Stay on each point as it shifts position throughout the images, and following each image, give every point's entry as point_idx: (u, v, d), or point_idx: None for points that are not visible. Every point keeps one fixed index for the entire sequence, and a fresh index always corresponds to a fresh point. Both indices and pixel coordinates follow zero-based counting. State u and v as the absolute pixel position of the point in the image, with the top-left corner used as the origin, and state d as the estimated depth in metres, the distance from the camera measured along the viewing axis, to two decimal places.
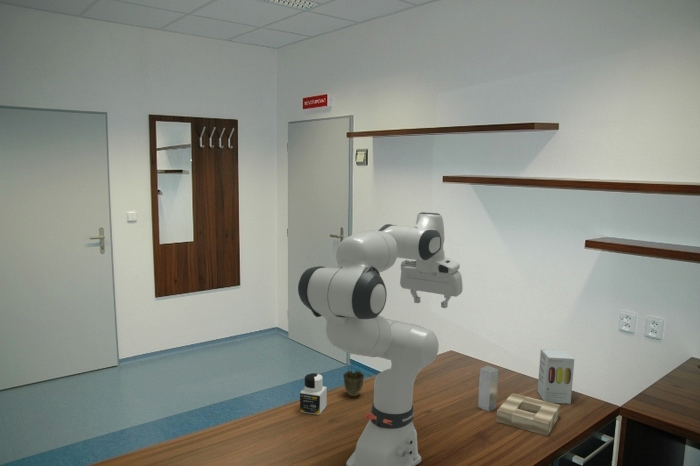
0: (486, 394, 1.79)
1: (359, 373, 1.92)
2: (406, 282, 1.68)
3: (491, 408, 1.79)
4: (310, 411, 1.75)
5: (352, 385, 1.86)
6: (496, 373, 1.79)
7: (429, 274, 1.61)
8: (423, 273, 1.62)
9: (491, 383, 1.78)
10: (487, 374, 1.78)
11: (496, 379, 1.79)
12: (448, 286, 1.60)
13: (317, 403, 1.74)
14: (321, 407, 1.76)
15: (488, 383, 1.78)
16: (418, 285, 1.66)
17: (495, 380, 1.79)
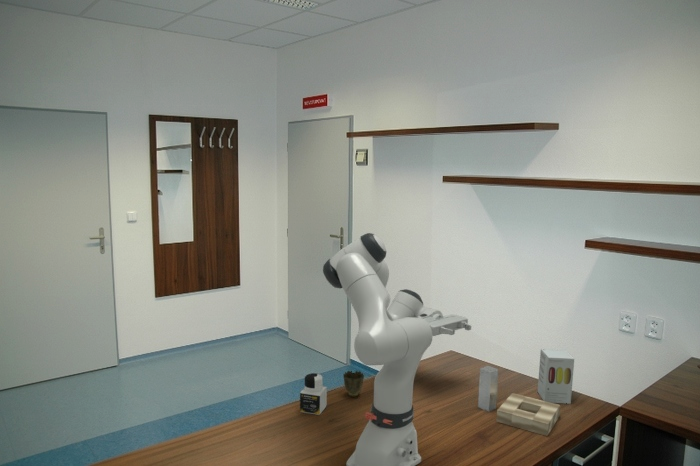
0: (486, 394, 1.79)
1: (359, 373, 1.92)
2: None
3: (491, 408, 1.79)
4: (310, 411, 1.75)
5: (352, 385, 1.86)
6: (496, 373, 1.79)
7: None
8: None
9: (491, 383, 1.78)
10: (487, 374, 1.78)
11: (496, 379, 1.79)
12: None
13: (317, 403, 1.74)
14: (321, 407, 1.76)
15: (488, 383, 1.78)
16: None
17: (495, 380, 1.79)
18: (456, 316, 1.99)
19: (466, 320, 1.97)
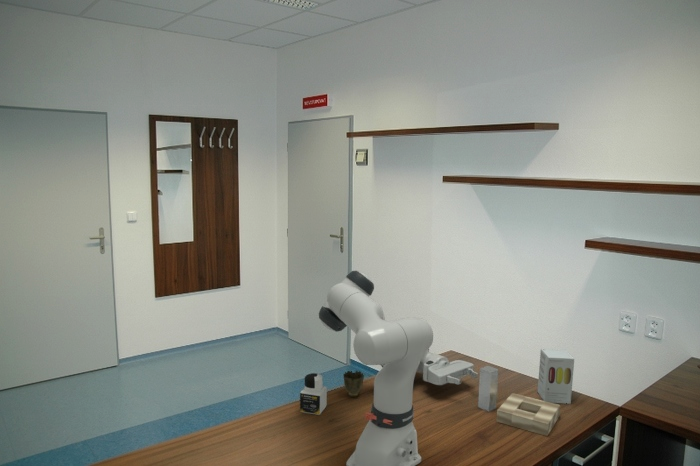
0: (486, 394, 1.79)
1: (359, 373, 1.92)
2: None
3: (491, 408, 1.79)
4: (310, 411, 1.75)
5: (352, 385, 1.86)
6: (496, 373, 1.79)
7: None
8: None
9: (491, 383, 1.78)
10: (487, 374, 1.78)
11: (496, 379, 1.79)
12: None
13: (317, 403, 1.74)
14: (321, 407, 1.76)
15: (488, 383, 1.78)
16: None
17: (495, 380, 1.79)
18: (462, 362, 1.99)
19: (472, 366, 1.96)
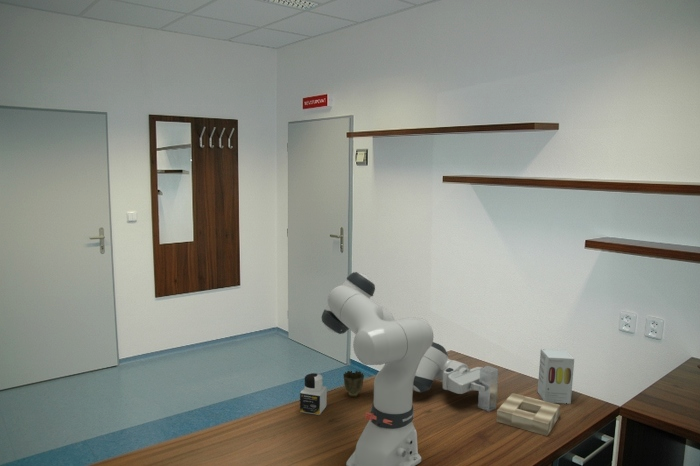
0: (486, 394, 1.79)
1: (359, 373, 1.92)
2: None
3: (491, 408, 1.79)
4: (310, 411, 1.75)
5: (352, 385, 1.86)
6: (496, 373, 1.79)
7: None
8: None
9: (491, 383, 1.78)
10: (487, 374, 1.78)
11: (496, 379, 1.79)
12: None
13: (317, 403, 1.74)
14: (321, 407, 1.76)
15: (488, 383, 1.78)
16: None
17: (495, 380, 1.79)
18: None
19: None
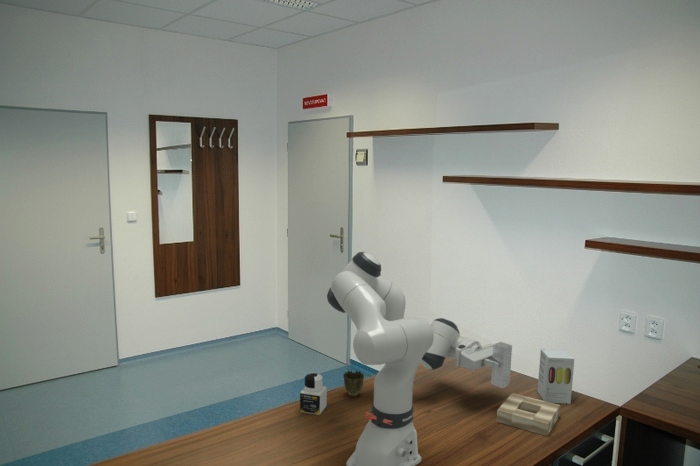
0: (500, 370, 1.76)
1: (359, 373, 1.92)
2: None
3: (505, 385, 1.77)
4: (310, 411, 1.75)
5: (352, 385, 1.86)
6: (510, 349, 1.76)
7: None
8: None
9: (505, 359, 1.75)
10: (500, 350, 1.75)
11: (510, 355, 1.77)
12: None
13: (317, 403, 1.74)
14: (321, 407, 1.76)
15: (502, 359, 1.75)
16: None
17: (509, 356, 1.76)
18: None
19: None
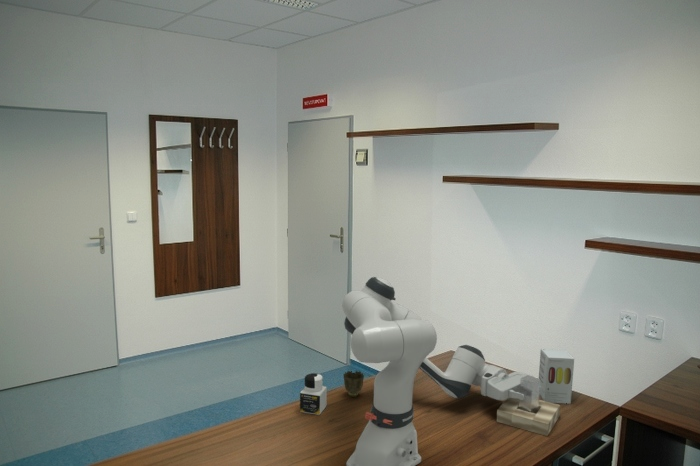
0: (528, 405, 1.71)
1: (359, 373, 1.92)
2: None
3: None
4: (310, 411, 1.75)
5: (352, 385, 1.86)
6: (538, 384, 1.71)
7: None
8: None
9: (533, 394, 1.70)
10: (528, 385, 1.70)
11: (538, 389, 1.71)
12: None
13: (317, 403, 1.74)
14: (321, 407, 1.76)
15: (530, 394, 1.70)
16: None
17: (537, 390, 1.71)
18: (522, 374, 1.83)
19: None
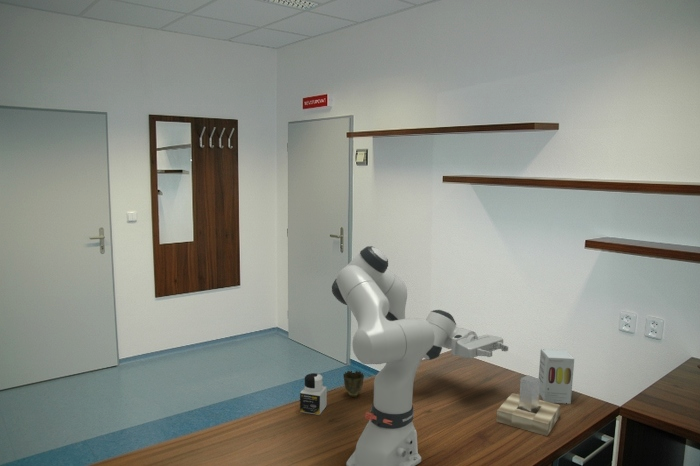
0: (528, 405, 1.71)
1: (359, 373, 1.92)
2: None
3: None
4: (310, 411, 1.75)
5: (352, 385, 1.86)
6: (538, 384, 1.71)
7: None
8: None
9: (533, 394, 1.70)
10: (528, 385, 1.70)
11: (538, 389, 1.71)
12: None
13: (317, 403, 1.74)
14: (321, 407, 1.76)
15: (530, 394, 1.70)
16: None
17: (537, 390, 1.71)
18: (491, 336, 1.92)
19: (502, 340, 1.90)
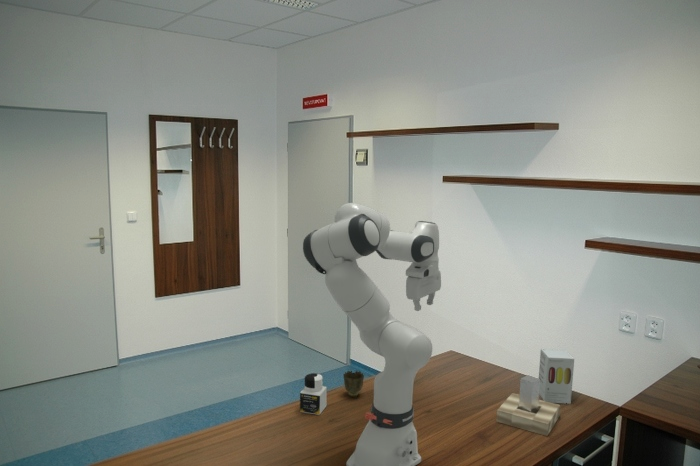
0: (528, 405, 1.71)
1: (359, 373, 1.92)
2: None
3: None
4: (310, 411, 1.75)
5: (352, 385, 1.86)
6: (538, 384, 1.71)
7: None
8: None
9: (533, 394, 1.70)
10: (528, 385, 1.70)
11: (538, 389, 1.71)
12: None
13: (317, 403, 1.74)
14: (321, 407, 1.76)
15: (530, 394, 1.70)
16: None
17: (537, 390, 1.71)
18: (438, 280, 1.86)
19: None
